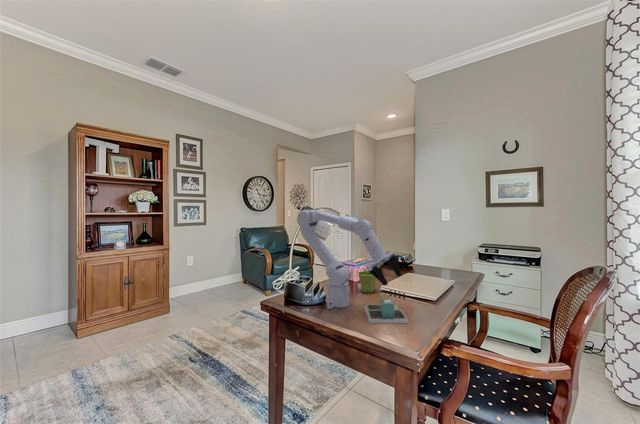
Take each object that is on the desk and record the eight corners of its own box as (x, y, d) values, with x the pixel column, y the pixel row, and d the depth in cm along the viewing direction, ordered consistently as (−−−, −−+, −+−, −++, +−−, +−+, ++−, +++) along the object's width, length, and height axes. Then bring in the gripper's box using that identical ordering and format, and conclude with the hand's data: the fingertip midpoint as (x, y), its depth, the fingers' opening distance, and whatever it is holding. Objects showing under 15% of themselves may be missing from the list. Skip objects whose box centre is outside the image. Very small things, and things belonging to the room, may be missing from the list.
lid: (366, 315, 99) (366, 312, 99) (363, 306, 108) (363, 304, 108) (401, 314, 99) (401, 312, 99) (395, 306, 107) (395, 303, 107)
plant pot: (353, 290, 128) (353, 272, 128) (367, 286, 133) (367, 269, 133) (367, 295, 120) (367, 277, 120) (381, 291, 125) (381, 273, 125)
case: (369, 325, 91) (369, 319, 91) (366, 314, 99) (365, 309, 99) (408, 325, 91) (408, 319, 91) (401, 314, 99) (401, 309, 99)
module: (383, 320, 93) (382, 303, 93) (380, 315, 97) (380, 298, 97) (394, 320, 93) (394, 302, 93) (391, 315, 97) (391, 298, 97)
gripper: (366, 252, 94) (385, 287, 91) (393, 238, 101) (412, 269, 98) (357, 257, 100) (374, 290, 97) (383, 243, 107) (400, 273, 104)
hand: (392, 280), depth 98 cm, fingers open, 7 cm apart
